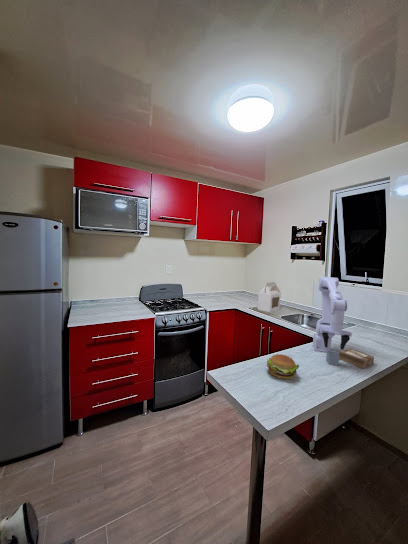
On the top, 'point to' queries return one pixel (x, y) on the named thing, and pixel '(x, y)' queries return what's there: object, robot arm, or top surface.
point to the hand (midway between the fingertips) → (333, 347)
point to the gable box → (269, 298)
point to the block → (332, 357)
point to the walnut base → (356, 358)
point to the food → (282, 366)
